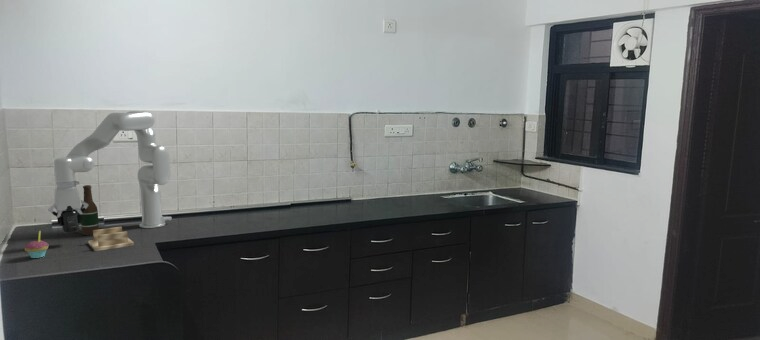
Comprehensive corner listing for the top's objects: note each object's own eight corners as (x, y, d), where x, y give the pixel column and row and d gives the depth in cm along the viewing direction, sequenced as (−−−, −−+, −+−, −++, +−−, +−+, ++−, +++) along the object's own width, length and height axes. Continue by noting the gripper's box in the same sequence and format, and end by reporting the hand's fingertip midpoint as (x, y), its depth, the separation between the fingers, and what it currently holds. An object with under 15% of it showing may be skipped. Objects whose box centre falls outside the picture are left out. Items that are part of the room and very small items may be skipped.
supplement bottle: (82, 228, 254) (80, 203, 252) (74, 232, 247) (71, 206, 245) (67, 228, 254) (65, 203, 252) (59, 232, 247) (56, 206, 245)
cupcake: (53, 254, 235) (51, 227, 234) (42, 260, 227) (39, 231, 225) (33, 254, 235) (30, 227, 234) (20, 260, 227) (18, 232, 225)
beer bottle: (79, 236, 266) (76, 187, 263) (83, 232, 273) (80, 184, 270) (97, 235, 268) (94, 186, 265) (101, 231, 275) (97, 184, 272)
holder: (125, 238, 263) (125, 225, 262) (134, 245, 250) (133, 231, 249) (88, 243, 253) (87, 230, 252) (94, 251, 240) (93, 237, 240)
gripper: (86, 181, 255) (90, 219, 258) (42, 186, 245) (47, 225, 248) (89, 184, 249) (93, 222, 252) (44, 189, 239) (49, 228, 242)
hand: (70, 223), depth 250 cm, fingers closed on supplement bottle, 6 cm apart
